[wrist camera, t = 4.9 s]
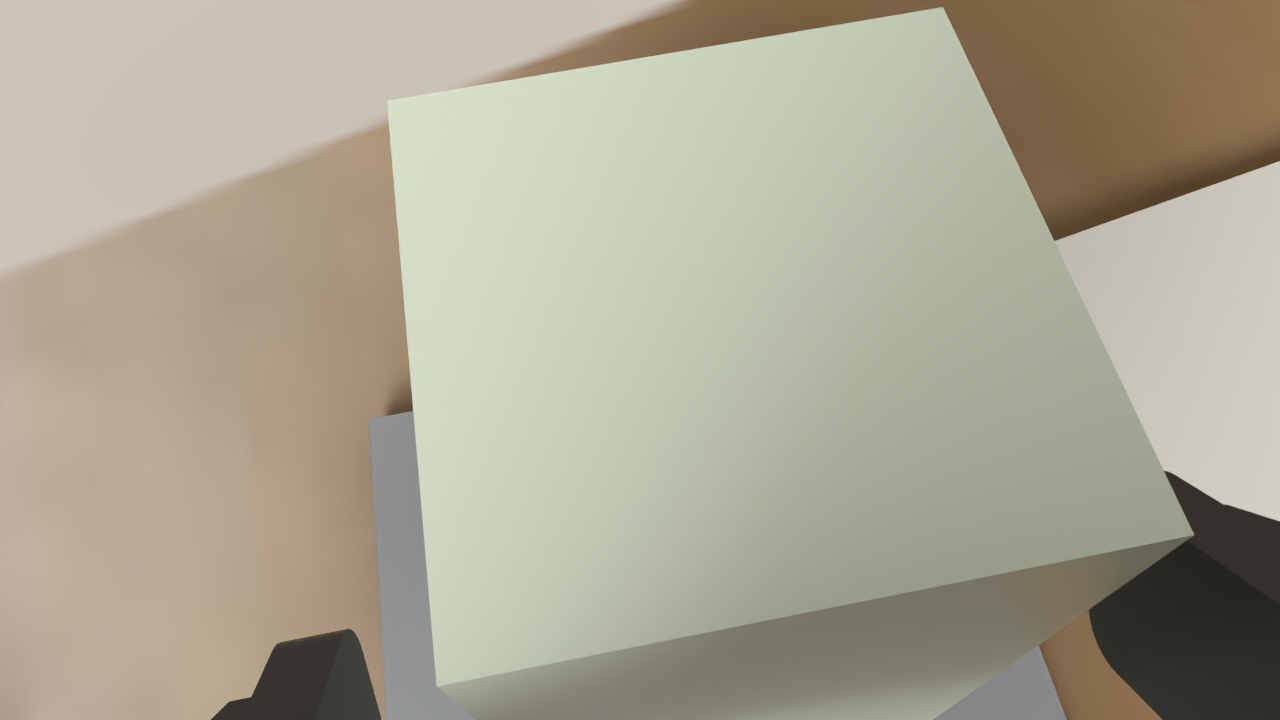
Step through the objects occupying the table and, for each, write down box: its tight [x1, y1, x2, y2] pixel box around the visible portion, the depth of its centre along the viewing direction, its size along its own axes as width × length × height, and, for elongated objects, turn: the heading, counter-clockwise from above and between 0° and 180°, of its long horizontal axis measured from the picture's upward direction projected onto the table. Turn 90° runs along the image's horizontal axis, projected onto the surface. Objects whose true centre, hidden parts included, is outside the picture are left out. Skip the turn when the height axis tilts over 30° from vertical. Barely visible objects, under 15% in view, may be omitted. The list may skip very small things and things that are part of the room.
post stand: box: [369, 411, 1067, 720], centre depth 17 cm, size 12×12×6 cm
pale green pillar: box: [387, 7, 1194, 720], centre depth 13 cm, size 5×5×12 cm
